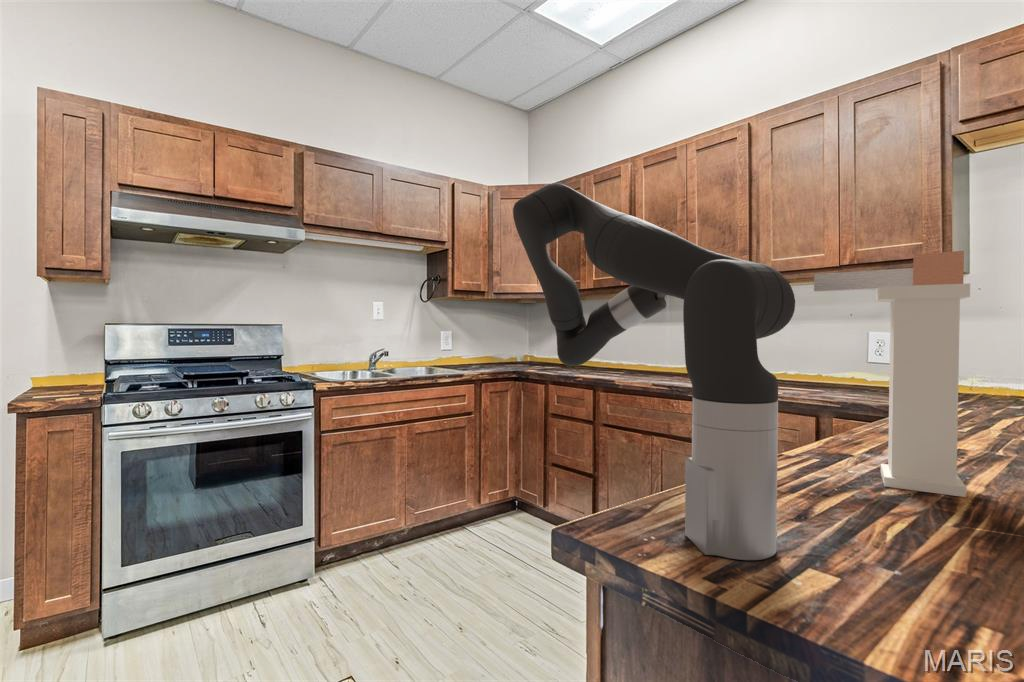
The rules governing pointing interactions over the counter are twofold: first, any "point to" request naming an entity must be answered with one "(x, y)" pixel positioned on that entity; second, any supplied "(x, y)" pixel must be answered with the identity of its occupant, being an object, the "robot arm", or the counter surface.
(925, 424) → the stand
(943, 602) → the counter surface
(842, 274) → the peg
